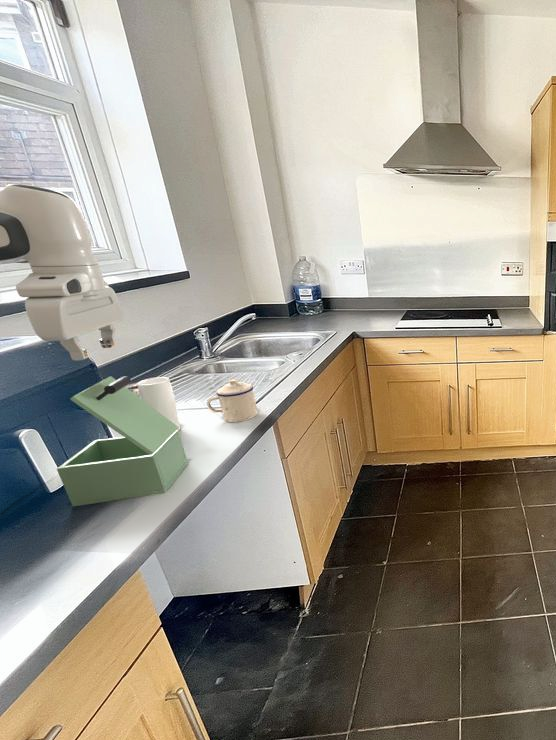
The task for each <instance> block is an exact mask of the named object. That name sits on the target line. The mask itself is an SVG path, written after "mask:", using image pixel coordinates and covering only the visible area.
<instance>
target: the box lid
mask: <svg viewBox="0 0 556 740" xmlns="http://www.w3.org/2000/svg"><path fill="white" fill-rule="evenodd" d="M130 384H132V380H131V378H130V377H129V376H121V377H120V378H118V379H116V378H114V377H113V376H111V375H110V376H108V377H106V378H104V379H103V380H101V381H98V382H97V383H95V384H94V385H92V386H90V387H88V388H86V389H84V390H83V391H81V392H79V393H77V394H75V395H73V396H72V397H70V398H69V400H70V401H71V402H73V403H74V404H76V405H77V406H79V407H80V408H82V409H83V410H85V411H86V412H87V413H89V414H90V415H92V416H93V417H94V418H96V419H97V420H99V421H101V422H102V423H103V424H105V425H106V426H107V427H109V428H111V429H112V430H113V431H115V432H116V433H117V434H119V435H121V437H125V438H126V439H128V440H129V441H131V442H132V443H134V444H135V445H137V446H138V447H139V448H141V449H142V450H144V451H145V452H147V453H148V454H149V455H152V454H153V453H154V452H155V451H156V450H157V449H158V448H159V447H160V446H161V445H162V444H163V443H164V442H165V441H166V440H167V439H168V438H169V437H170V436H171V435H172V434H173V433H174V432H175V431H176V430H177V429H178V428H179V427H178V426H177V425H175V424H174V423H173V422H171V421H170V420H169V419H167V418H166V417H165V416H163V415H162V414H161V413H159V412H158V411H157V410H155V409H154V408H153V407H151V406H150V405H149V404H147V403H146V402H145V401H143V400H142V399H141V398H139V397H138V396H137V395H135V394H134V393H133V392H131V391H130V390H129V389H127V388H126V387H125V386H127V385H130Z"/></svg>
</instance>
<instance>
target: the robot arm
mask: <svg viewBox="0 0 556 740" xmlns="http://www.w3.org/2000/svg"><path fill="white" fill-rule="evenodd" d="M4 264H29V266H30V269H31V273H29V274H28V276H26V277H25V278H24V279H23V280H21V281H20V282H18V283H16V284H15V285H16V286H15V290H16V292H17V294H18V296H19V297H21V298H26V299H25V301H24V307H25V311H26V315H27V317H28V319H29V321H30V324H31V326H32V329H33V330H34V333H35V334H36V336H37V337H38V338H40V339H41V340H42V341H44V342H59V343H60V345H61V346H62V347H63V348H64V349H65V350H66V351H67V352H68V353H69V355H70V358H71V360H72V361H75V362H76V361H84V360H86V359H88V358H89V354H88V351H87V348H83V347H82V346H81V344H80V343H79V342H80V338H79V336H82V335H85V334H89V333H90V332H94V331H97V330H98V331H100V339H99V340H98V341H99V343H100V346H101V348H103V349H109V348H110V349H111V348H113V347H115V346H116V345H117V343H116V339H115V332H116V327H115V324H116V323H119V322H123V320H124V318H125V317H124V316H125V314H124V311H123V308H122V305H121V303H120V300H119V297H118V296H117V293H116V292H115V290H114V289H113V288H112V287H110V286H109V284H108V282H106V281H105V280H104V277H103V274H102V270H101V267H100V264H99V261H98V260H97V259H96V257H95V256H94V253H93V251H92V239H91V235H90V232H89V229H88V226H87V224H86V221H85V219H84V217H83V215H82V212H81V210H80V208H79V207H78V204H77V203H76V201H75V200H74V199H73V198H72V197H70V196H69V195H68V194H66V193H64V192H61V191H60V190H59V191H58V190H54V189H50V188H44V187H41V186H34V185H30V184H29V185H28V184H22V183H9V184H8V185H6V186H5V187H4V188H2V189H1V190H0V265H4Z"/></svg>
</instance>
